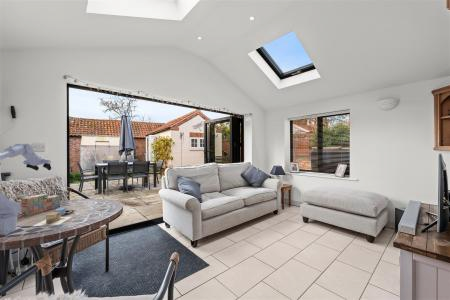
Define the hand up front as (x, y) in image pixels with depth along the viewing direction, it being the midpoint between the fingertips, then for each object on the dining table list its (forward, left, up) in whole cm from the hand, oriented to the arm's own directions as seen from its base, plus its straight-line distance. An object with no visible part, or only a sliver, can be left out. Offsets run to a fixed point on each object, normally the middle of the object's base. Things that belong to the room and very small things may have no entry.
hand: (44, 169), depth 134 cm
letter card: (-17, -16, -32) cm, 40 cm away
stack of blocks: (+10, +8, -33) cm, 35 cm away
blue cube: (-4, -12, -32) cm, 35 cm away
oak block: (-17, -16, -32) cm, 39 cm away
